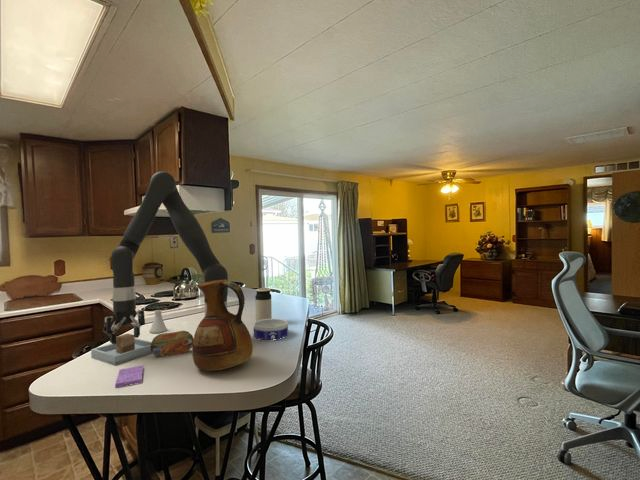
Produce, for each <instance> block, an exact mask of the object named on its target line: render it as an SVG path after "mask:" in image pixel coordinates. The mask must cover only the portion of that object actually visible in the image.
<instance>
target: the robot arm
mask: <svg viewBox="0 0 640 480" xmlns="http://www.w3.org/2000/svg"><path fill="white" fill-rule="evenodd" d="M162 204H163V206H164V207H165V209H166V211H167V213H168V215H169V218H170V220H171V222H172V225H173V227H174V229H175V231H176V233H177V234H178V236H179V238H180V240H181V241H182V242H183V244H184V245H185V247H186V249H187V250H188V251H189V252H190V253H191V255H192V256H193V257H194V258H195V260H196V262H197V264H198V265H199V268H200V270H201V272H202V275H203V279H204V283H205V282H210V281H217V280H224V279H226V280H229V279H228V277H229V276H228V270H227V269H226V267H225V266H223V265H222V264H221V262H220V260H218V258H217V256H215V254H214V252H213V250H212V248H211V246H210V243H209V241H208V238H207V235H206V234H205V231H204V229H203V228H202V226H201V224H200V223H199V221H198V219H197V218H196V217H195V215H194V214H193V212H192V211H191V210H190V209H189V207H188V206H187V205H186V203H185V202H184V201H183V198H182V197H181V194H180V192H179V190H178V188H177V183H176V180H175V178H174V176H173V175H172V174H171V173H169V172H167V171H158V172H155V173H154V174H152V176H150V181H149V184H148V187H147V190H146V193H145V195H144V197H143V200H142V202H141V203H140V206H139V207H138V209H137V210H136V212H135V214H134V215H133V217H132V219H131V220H130V222H129V224H128V226H127V227H126V229H125V231H124V233H123V237H122V239H121V241H120V242H119V244H118V246H117V247H116V248H114V249H113V250H112V251H111V255H110V260H111V267H112V268H111V269H112V275H113V277H112V286H113V287H112V288H113V289H112V312H113V315H112V316H105V317H103V333H104V334H107V335H108V336H109V342H110V344H116V336H117V334H116V333H117V332H118V330H119V329H120V328H121V327H124V326H126V325H132V326H133V335H134V336H135V338H137V339H139V338H140V337H139V336H140V335H141V327H142V326H145V324H146V319H145V311H144V310H143V309H138V310H137V304H136V303H137V299H136V297H137V295H136V286H135V273H134V271H133V270H134V269H133V268H134V267H133V261H134V259H135V257H136V255H137V253H138V250H139V248H140V246H141V244H142V242H143V241H144V239H146V238H145V237H146V236H147V234H148V232H149V230H150V229H151V227H152V225H153V222H154V220H155V217H156V216H157V213H158V211H159V209H160V207H161V205H162ZM228 289H229V287H225V288H224V292H223V296H224V302H225V306H226V308H227V309H228V295H229V294H228V293H229V290H228ZM203 297H204V300H203V301H204V317H205V316H206V310H207V304H206V300H205V296H203ZM136 317H137V319H136ZM113 321H114V322H113Z"/></svg>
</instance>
